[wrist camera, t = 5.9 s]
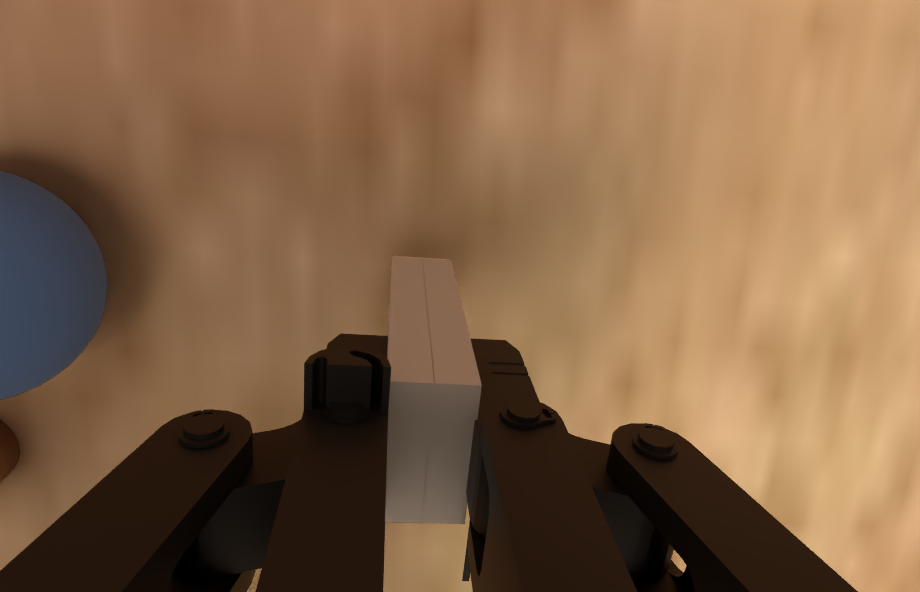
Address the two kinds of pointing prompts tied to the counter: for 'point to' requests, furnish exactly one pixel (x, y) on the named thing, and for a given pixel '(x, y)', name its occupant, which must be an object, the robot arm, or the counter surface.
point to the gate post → (7, 451)
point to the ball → (44, 285)
